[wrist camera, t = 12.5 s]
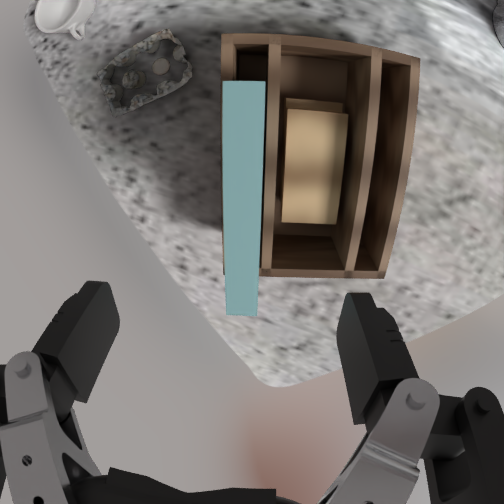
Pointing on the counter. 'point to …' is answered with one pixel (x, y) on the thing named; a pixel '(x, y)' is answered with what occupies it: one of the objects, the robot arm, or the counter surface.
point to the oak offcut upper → (312, 165)
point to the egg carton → (137, 77)
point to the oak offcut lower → (306, 105)
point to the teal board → (242, 192)
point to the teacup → (64, 16)
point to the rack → (356, 152)
